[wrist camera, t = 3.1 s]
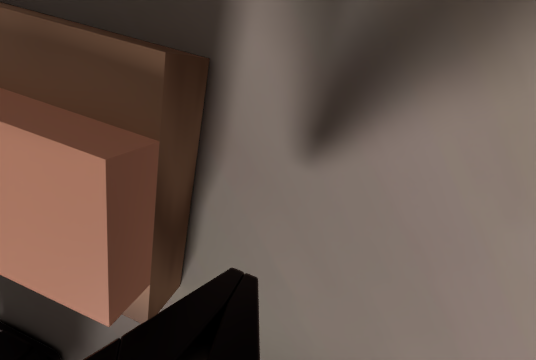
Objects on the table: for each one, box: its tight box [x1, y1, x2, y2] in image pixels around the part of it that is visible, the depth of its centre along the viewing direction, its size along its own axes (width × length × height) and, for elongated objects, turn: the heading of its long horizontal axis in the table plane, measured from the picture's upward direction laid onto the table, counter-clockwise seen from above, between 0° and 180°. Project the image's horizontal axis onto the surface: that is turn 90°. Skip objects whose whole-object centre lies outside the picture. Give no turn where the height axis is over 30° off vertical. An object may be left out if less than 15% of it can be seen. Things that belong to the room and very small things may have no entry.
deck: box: [0, 2, 210, 323], centre depth 11 cm, size 11×10×2 cm
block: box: [0, 88, 160, 327], centre depth 9 cm, size 9×6×2 cm, turn 77°
